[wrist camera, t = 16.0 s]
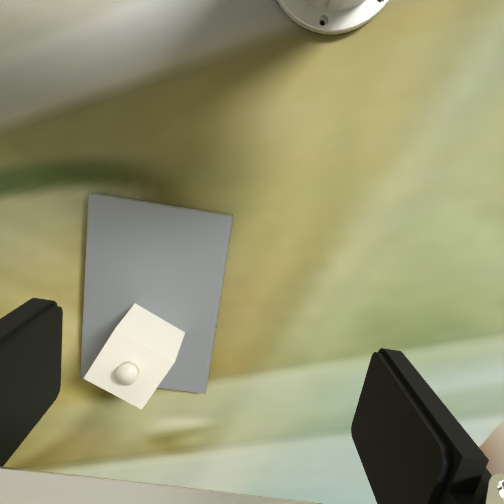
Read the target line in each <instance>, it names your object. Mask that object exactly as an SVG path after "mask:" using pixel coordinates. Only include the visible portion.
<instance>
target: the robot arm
mask: <svg viewBox="0 0 504 504" xmlns="http://www.w3.org/2000/svg"><path fill="white" fill-rule="evenodd" d="M277 2H278V3H279V5H280V7H281V8H282V9H283V10H284V12H285V13H286V14H287V15H288V16H289V17H290V18H291V19H292V20H293V21H295V22H296V23H297V24H298V25H300V26H302V27H304V28H306V29H308V30H310V31H312V32H316V33H320V34H333V35H336V34H341V33H347V32H350V31H352V30H355V29H357V28H359V27H361V26H363V25H364V24H366V23H367V22H369V21H370V20H371V19H373V18H374V17H375V16H376V15H377V14H378V13H379V12H380V11H381V10H382V9H383V8H384V6H385V5H386V4H387V3H388V2H389V0H380V3H379V2H378V1H377V0H277ZM321 21H322V22H324V26H322V25H320V22H321ZM62 316H63V311H62V308H61V307H58V306H57V303H56V302H55V301H51V300H45V299H38V298H32V299H30V300H29V301H27V302H26V303H24V304H23V305H21V306H20V307H18V308H16V309H15V310H13V311H12V312H10V313H9V314H7V315H6V316H4V317H3V318H1V319H0V504H322V503H314V502H305V501H297V500H288V499H280V498H271V497H263V496H254V495H246V494H237V493H229V492H220V491H212V490H203V489H194V488H186V487H177V486H168V485H160V484H151V483H142V482H133V481H125V480H116V479H107V478H98V477H90V476H81V475H72V474H63V473H54V472H45V471H35V470H26V469H17V468H8V467H3V466H4V464H5V463H6V462H7V461H8V459H9V458H10V457H11V456H12V454H13V453H14V452H15V450H16V449H17V448H18V447H19V445H20V444H21V443H22V442H23V440H24V439H25V438H26V437H27V435H28V434H29V433H30V431H31V430H32V429H33V428H34V426H35V425H36V424H37V423H38V421H39V420H40V419H41V418H42V416H43V415H44V414H45V412H46V411H47V410H48V409H49V407H50V406H51V405H52V404H53V402H54V401H55V400H56V398H57V396H58V394H59V391H60V386H61V352H62ZM351 433H352V438H353V441H354V443H355V446H356V449H357V451H358V454H359V456H360V459H361V462H362V464H363V467H364V470H365V472H366V475H367V477H368V480H369V483H370V485H371V488H372V491H373V493H374V496H375V499H376V501H377V504H504V474H495V475H493V476H492V475H491V474H490V473H489V471H488V470H487V469H486V466H487V463H488V461H489V460H488V458H487V457H486V456H485V455H484V453H483V452H482V451H481V450H480V448H479V447H478V446H477V445H476V443H475V442H474V441H473V440H472V439H471V437H470V436H469V435H468V434H467V432H466V431H465V430H464V429H463V427H462V426H461V425H460V424H459V422H458V421H457V420H456V419H455V417H454V416H453V415H452V414H451V412H450V411H449V410H448V409H447V407H446V406H445V405H444V404H443V403H442V401H441V400H440V399H439V398H438V396H437V395H436V394H435V393H434V391H433V390H432V389H431V388H430V386H429V385H428V384H427V383H426V381H425V380H424V379H423V378H422V376H421V375H420V374H419V373H418V371H417V370H416V369H415V368H414V366H413V365H412V364H411V363H410V362H409V360H408V359H407V358H406V357H405V355H404V354H403V353H402V352H401V351H396V350H389V349H383V348H381V349H380V350H379V351H378V353H377V352H375V353H373V355H372V357H371V361H370V364H369V367H368V371H367V374H366V378H365V381H364V385H363V388H362V391H361V395H360V398H359V402H358V405H357V409H356V412H355V415H354V419H353V422H352V428H351Z"/></svg>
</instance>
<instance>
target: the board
mask: <svg viewBox="0 0 504 504" xmlns="http://www.w3.org/2000/svg"><path fill="white" fill-rule="evenodd" d="M232 220H233V215H227V214H221V213H215V212H209V211H203V210H197V209H191V208H185V207H179V206H173V205H166V204H160V203H154V202H148V201H142V200H136V199H130V198H124V197H118V196H112V195H106V194H99V193H89V198H88V220H87V241H86V263H85V285H84V307H83V329H82V351H81V373H80V377H81V378H84V377H85V375H86V374H87V372H88V370H89V369H90V367H91V366H92V364H93V363H94V361H95V359H96V358H97V356H98V355H99V353H100V352H101V350H102V348H103V347H104V345H105V344H106V342H107V341H108V339H109V337H110V336H111V334H112V333H113V331H114V330H115V328H116V327H117V326H118V324H119V323H120V322H121V320H122V319H123V318H124V316H125V315H126V314H127V313H128V311H129V310H130V309H131V307H132V306H133V305H134V303H135V304H137V305H139V306H141V307H142V308H144V309H146V310H147V311H149V312H151V313H153V314H154V315H156V316H158V317H159V318H161V319H163V320H164V321H166V322H168V323H170V324H171V325H173V326H175V327H176V328H178V329H180V330H182V331H183V332H185V335H184V337H183V340H182V343H181V346H180V349H179V352H178V355H177V357H176V360H175V363H174V364H173V365H172V367H171V368H170V370H169V371H168V373H167V374H166V375H165V377H164V378H163V380H162V381H161V383H160V384H159V385H158V387H157V388H164V389H171V390H179V391H187V392H194V393H202V394H205V393H206V387H207V381H208V375H209V368H210V362H211V355H212V349H213V342H214V336H215V330H216V323H217V317H218V310H219V304H220V297H221V291H222V285H223V278H224V272H225V265H226V259H227V252H228V246H229V239H230V233H231V227H232Z"/></svg>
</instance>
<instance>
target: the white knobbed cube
mask: <svg viewBox="0 0 504 504" xmlns="http://www.w3.org/2000/svg"><path fill="white" fill-rule="evenodd" d="M184 335H185V332H183V331H182V330H180V329H178V328H176V327H175V326H173V325H171V324H170V323H168V322H166V321H164V320H163V319H161V318H159V317H158V316H156V315H154V314H153V313H151V312H149V311H147V310H146V309H144V308H142V307H141V306H139V305H137V304H135V303H134V305H133V306H132V307H131V309H130V310H129V311H128V313H127V314H126V315H125V316H124V318H123V319H122V320H121V322H120V323H119V324H118V326H117V327H116V328H115V330H114V331H113V333H112V334H111V336H110V337H109V339H108V341H107V342H106V344H105V345H104V347H103V348H102V350H101V352H100V353H99V355H98V356H97V358H96V359H95V361H94V363H93V364H92V366H91V367H90V369H89V370H88V372H87V374H86V375H85V377H84V378H83V379H85V380H87V381H89V382H91V383H93V384H94V385H96V386H98V387H100V388H102V389H104V390H106V391H108V392H110V393H111V394H113V395H115V396H117V397H119V398H121V399H123V400H125V401H127V402H128V403H130V404H132V405H134V406H136V407H138V408H140V409H142V408H143V407H144V405H145V404H146V403H147V401H148V400H149V398H150V397H151V395H152V394H153V393H154V391H155V390H156V388H157V387H158V385H159V384H160V383H161V381H162V380H163V378H164V377H165V375H166V374H167V373H168V371H169V370H170V368H171V367H172V365H173V364H174V363H175V360H176V357H177V355H178V352H179V349H180V346H181V343H182V340H183V337H184Z"/></svg>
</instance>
